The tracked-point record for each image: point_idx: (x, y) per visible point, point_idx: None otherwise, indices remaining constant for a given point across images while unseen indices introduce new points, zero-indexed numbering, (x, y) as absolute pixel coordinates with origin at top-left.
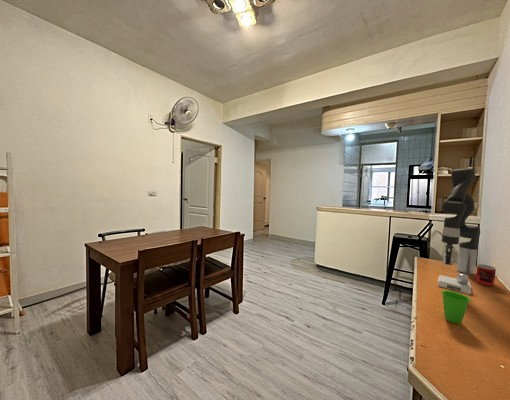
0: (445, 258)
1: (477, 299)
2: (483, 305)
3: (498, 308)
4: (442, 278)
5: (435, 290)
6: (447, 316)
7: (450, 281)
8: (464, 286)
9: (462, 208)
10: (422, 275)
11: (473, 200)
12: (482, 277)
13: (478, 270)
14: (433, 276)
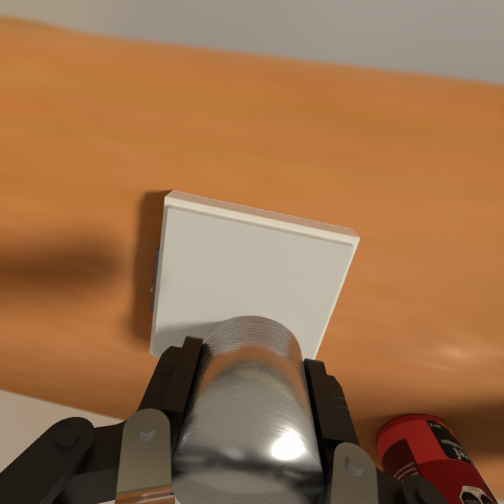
0: (199, 394)
1: (99, 344)
2: (29, 345)
3: (50, 387)
4: (255, 244)
5: (46, 157)
6: None
7: (215, 282)
8: (166, 337)
9: None
10: (381, 113)
11: None
12: (402, 467)
13: (452, 500)
14: (404, 202)
